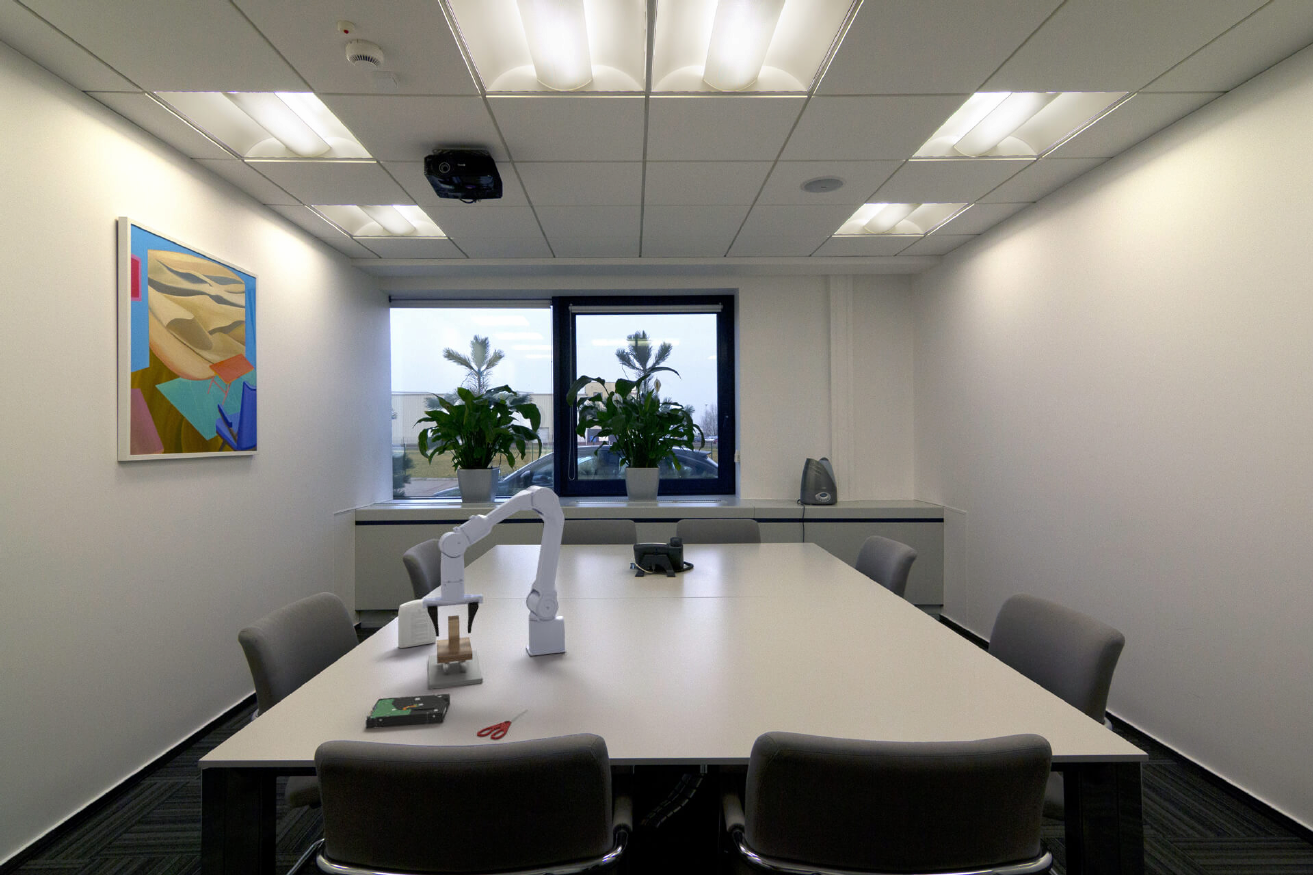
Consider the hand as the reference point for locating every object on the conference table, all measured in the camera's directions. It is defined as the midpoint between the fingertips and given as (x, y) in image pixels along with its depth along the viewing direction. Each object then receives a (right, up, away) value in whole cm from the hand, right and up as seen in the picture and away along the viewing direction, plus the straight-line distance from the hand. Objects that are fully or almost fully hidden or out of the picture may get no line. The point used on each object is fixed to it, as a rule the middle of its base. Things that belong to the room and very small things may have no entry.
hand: (453, 633), depth 170 cm
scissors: (+22, -8, -35) cm, 42 cm away
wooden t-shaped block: (+1, -3, -4) cm, 6 cm away
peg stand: (+1, -8, -4) cm, 9 cm away
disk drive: (0, -9, -31) cm, 32 cm away
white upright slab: (-15, -8, +18) cm, 25 cm away
